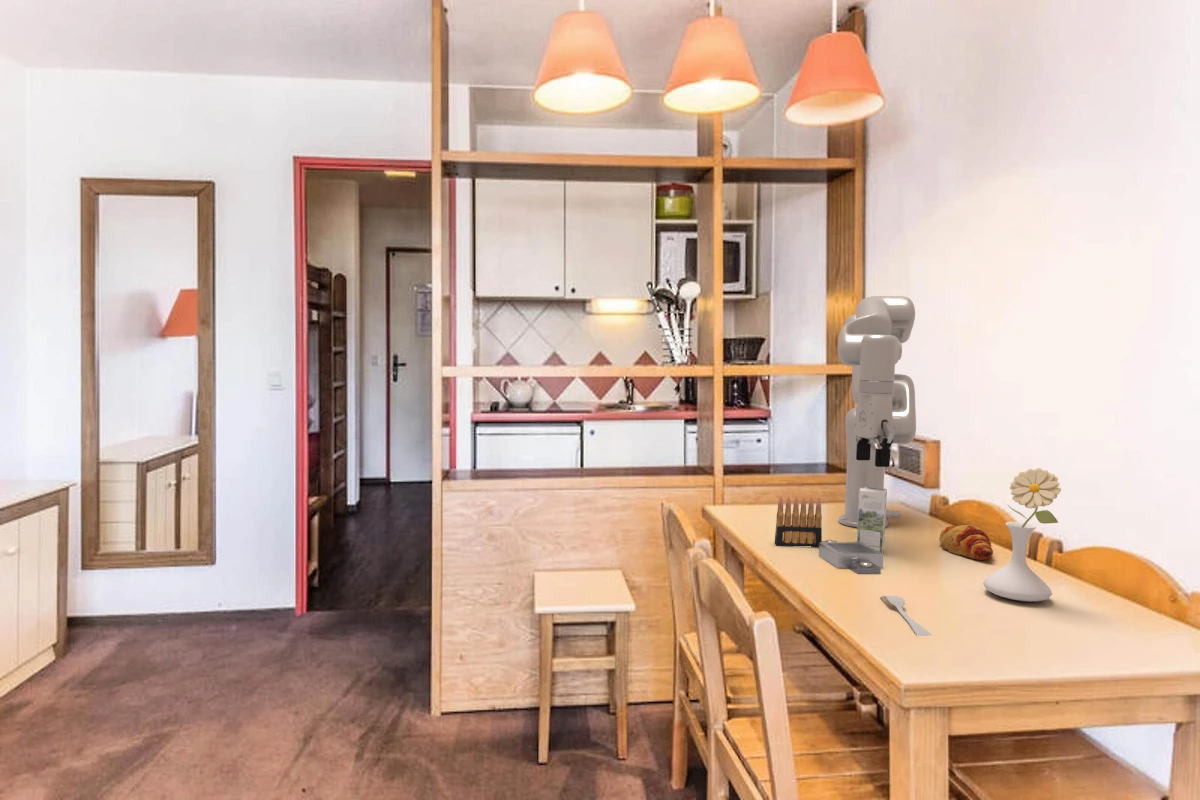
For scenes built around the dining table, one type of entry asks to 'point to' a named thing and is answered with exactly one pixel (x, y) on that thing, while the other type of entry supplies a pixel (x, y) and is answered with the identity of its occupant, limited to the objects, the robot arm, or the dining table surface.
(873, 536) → the syrup box
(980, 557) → the croissant
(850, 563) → the bolted metal bracket
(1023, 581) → the flower in vase
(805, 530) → the ammunition clip
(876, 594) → the dining table surface
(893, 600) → the fork
